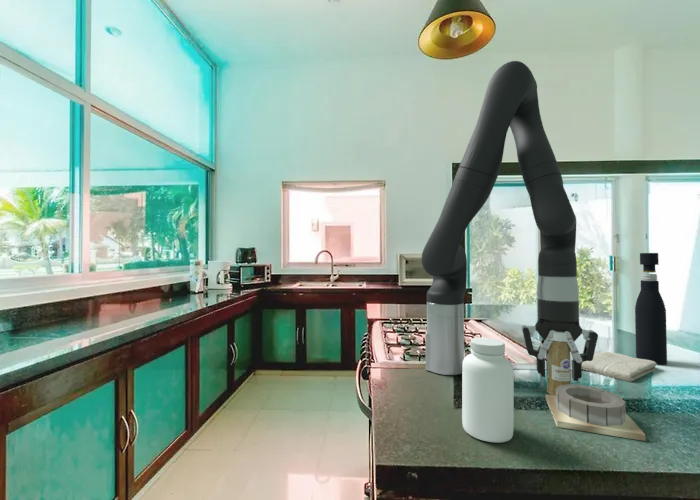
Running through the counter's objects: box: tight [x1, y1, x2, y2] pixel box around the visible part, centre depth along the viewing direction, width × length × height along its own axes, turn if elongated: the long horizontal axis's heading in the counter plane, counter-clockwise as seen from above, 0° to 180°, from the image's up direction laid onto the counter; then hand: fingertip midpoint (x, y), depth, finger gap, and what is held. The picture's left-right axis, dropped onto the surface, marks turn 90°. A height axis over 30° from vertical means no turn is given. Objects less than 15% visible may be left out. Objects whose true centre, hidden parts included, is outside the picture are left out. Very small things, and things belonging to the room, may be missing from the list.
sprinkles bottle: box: [545, 331, 572, 395], centre depth 71 cm, size 5×5×14 cm
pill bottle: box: [461, 337, 515, 444], centre depth 56 cm, size 8×8×15 cm
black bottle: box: [634, 252, 668, 366], centre depth 93 cm, size 6×6×30 cm
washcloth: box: [582, 351, 658, 383], centre depth 87 cm, size 12×18×3 cm, turn 123°
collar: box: [545, 383, 646, 442], centre depth 61 cm, size 12×12×4 cm
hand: (558, 377), depth 71 cm, fingers open, 5 cm apart
